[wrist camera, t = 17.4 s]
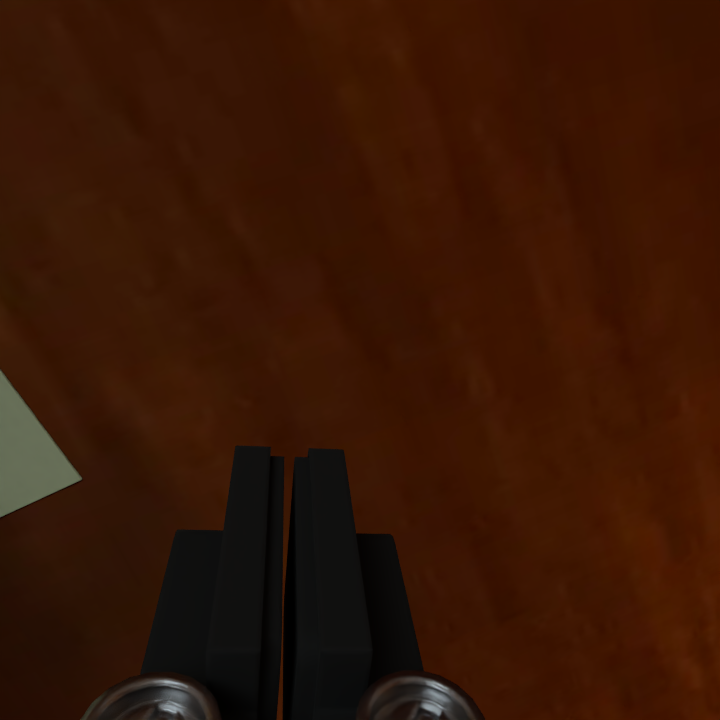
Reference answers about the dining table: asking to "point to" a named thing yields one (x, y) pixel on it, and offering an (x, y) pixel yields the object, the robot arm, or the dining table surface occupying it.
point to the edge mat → (27, 455)
